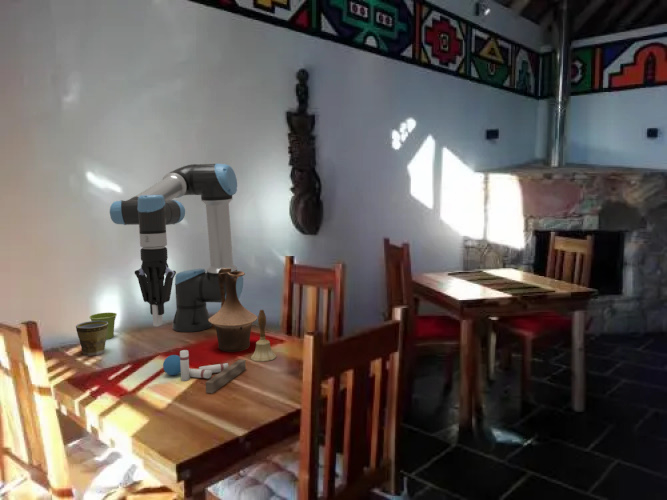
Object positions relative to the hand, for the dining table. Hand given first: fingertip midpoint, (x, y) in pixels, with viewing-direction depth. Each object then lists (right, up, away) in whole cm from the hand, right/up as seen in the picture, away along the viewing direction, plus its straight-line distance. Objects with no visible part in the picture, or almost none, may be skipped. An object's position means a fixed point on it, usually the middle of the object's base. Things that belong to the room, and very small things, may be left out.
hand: (158, 325), depth 160 cm
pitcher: (+18, -12, +27) cm, 34 cm away
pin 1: (+9, -15, -5) cm, 19 cm away
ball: (+5, -12, -1) cm, 13 cm away
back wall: (+22, -15, -6) cm, 27 cm away
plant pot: (-33, -11, +40) cm, 54 cm away
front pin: (+8, -14, -2) cm, 16 cm away
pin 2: (+13, -14, -1) cm, 19 cm away
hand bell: (+30, -13, +15) cm, 36 cm away
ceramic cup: (-30, -13, +23) cm, 40 cm away
